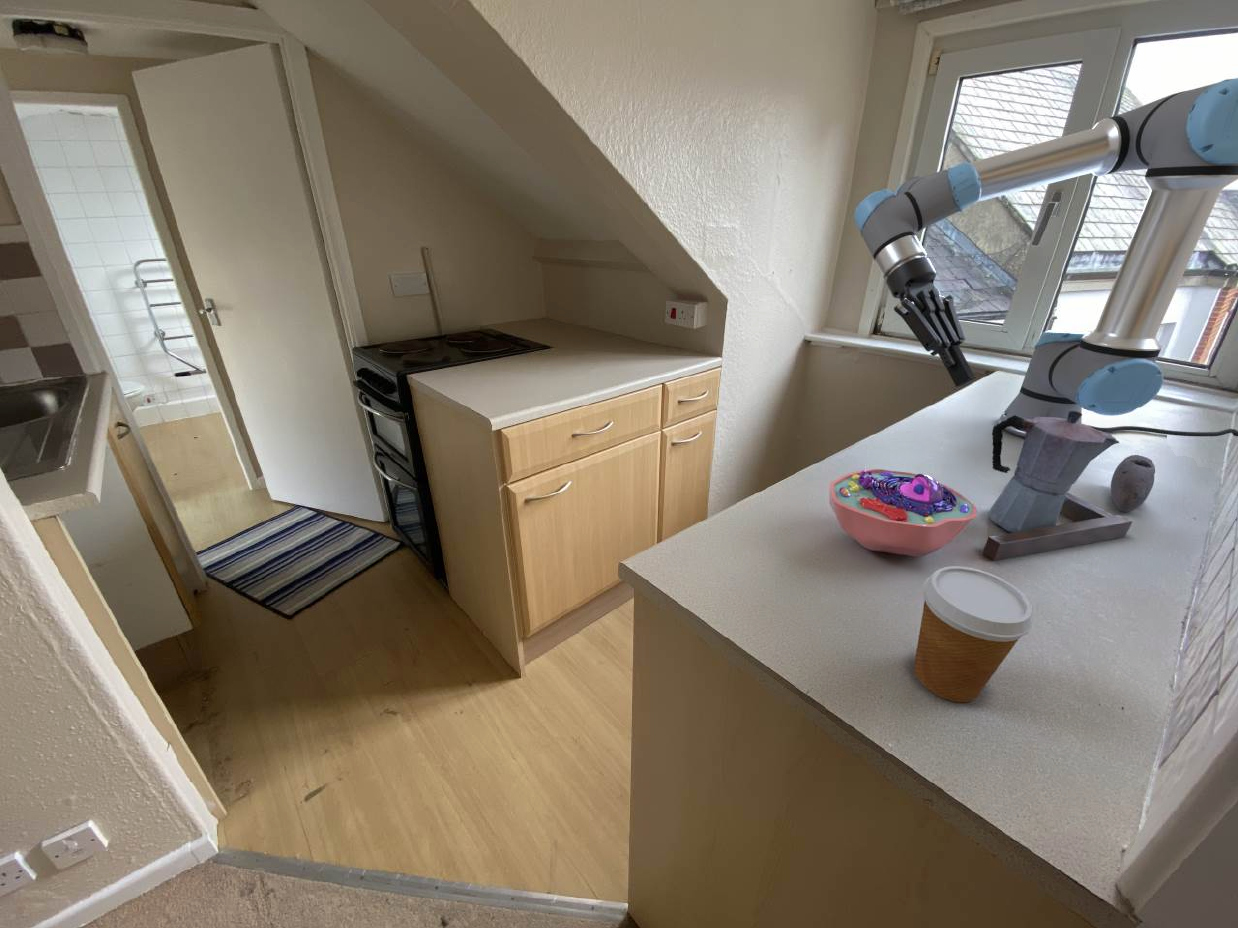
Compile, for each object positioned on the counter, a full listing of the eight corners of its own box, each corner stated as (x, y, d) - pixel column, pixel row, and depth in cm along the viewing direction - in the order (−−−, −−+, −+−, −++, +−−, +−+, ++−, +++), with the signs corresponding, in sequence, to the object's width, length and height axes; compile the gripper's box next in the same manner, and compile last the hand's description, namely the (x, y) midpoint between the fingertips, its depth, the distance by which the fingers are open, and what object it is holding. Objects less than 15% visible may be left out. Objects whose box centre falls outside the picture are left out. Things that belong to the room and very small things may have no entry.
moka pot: (1085, 550, 80) (1146, 428, 71) (970, 531, 84) (1014, 414, 75) (1060, 518, 88) (1112, 405, 79) (957, 502, 92) (994, 394, 84)
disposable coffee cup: (881, 647, 62) (907, 564, 57) (959, 644, 62) (993, 562, 57) (928, 718, 53) (964, 628, 48) (1018, 714, 54) (1064, 625, 49)
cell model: (805, 511, 89) (817, 450, 84) (925, 514, 89) (944, 453, 84) (839, 574, 74) (857, 504, 69) (984, 578, 74) (1012, 509, 69)
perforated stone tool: (1138, 523, 87) (1158, 486, 84) (1098, 511, 90) (1115, 475, 87) (1145, 492, 97) (1162, 458, 94) (1108, 482, 100) (1124, 449, 97)
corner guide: (1025, 486, 98) (1031, 472, 97) (1124, 537, 84) (1133, 521, 82) (908, 503, 92) (913, 488, 91) (993, 560, 77) (1000, 544, 76)
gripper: (914, 280, 102) (970, 388, 96) (865, 284, 97) (921, 397, 91) (947, 253, 96) (1010, 367, 90) (896, 256, 91) (959, 376, 85)
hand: (965, 382), depth 90 cm, fingers closed
